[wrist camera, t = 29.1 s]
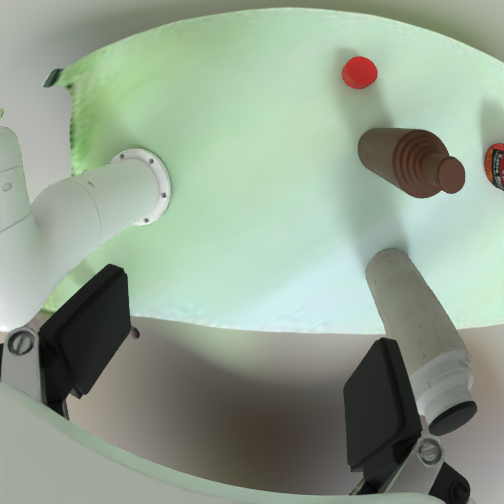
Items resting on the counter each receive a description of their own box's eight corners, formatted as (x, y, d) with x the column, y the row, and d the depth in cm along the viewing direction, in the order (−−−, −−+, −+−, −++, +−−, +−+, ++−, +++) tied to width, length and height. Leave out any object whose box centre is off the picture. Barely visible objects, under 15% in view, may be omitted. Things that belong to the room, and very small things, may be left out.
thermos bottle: (386, 299, 42) (434, 449, 17) (355, 275, 41) (397, 440, 16) (419, 266, 38) (498, 406, 13) (389, 238, 37) (478, 388, 12)
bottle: (352, 164, 34) (405, 201, 16) (364, 121, 31) (430, 117, 14) (392, 179, 34) (466, 228, 16) (405, 137, 31) (490, 154, 13)
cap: (375, 75, 28) (383, 70, 24) (359, 94, 29) (366, 91, 26) (352, 57, 27) (357, 50, 24) (335, 76, 29) (340, 70, 26)
